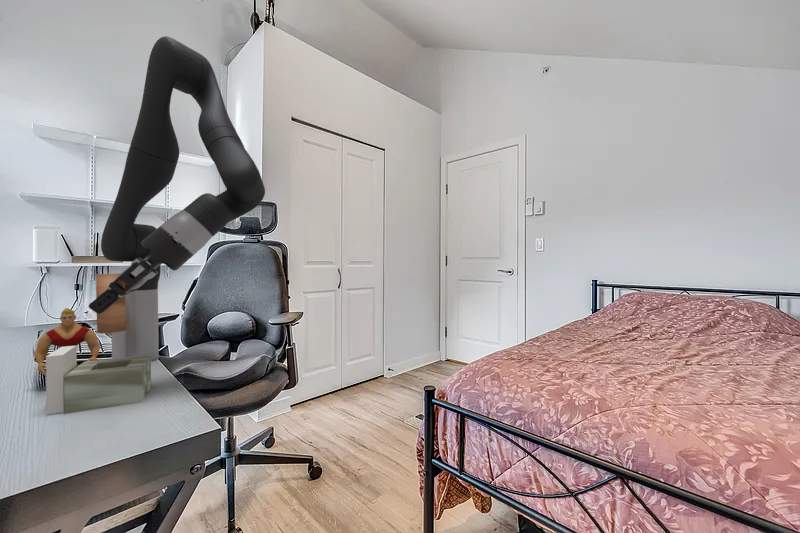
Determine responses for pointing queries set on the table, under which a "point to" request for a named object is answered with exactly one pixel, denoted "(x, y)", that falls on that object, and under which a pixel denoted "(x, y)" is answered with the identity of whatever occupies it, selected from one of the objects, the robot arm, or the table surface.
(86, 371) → the socket block
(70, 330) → the action figure
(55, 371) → the backstop wall
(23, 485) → the table surface
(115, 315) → the dowel
